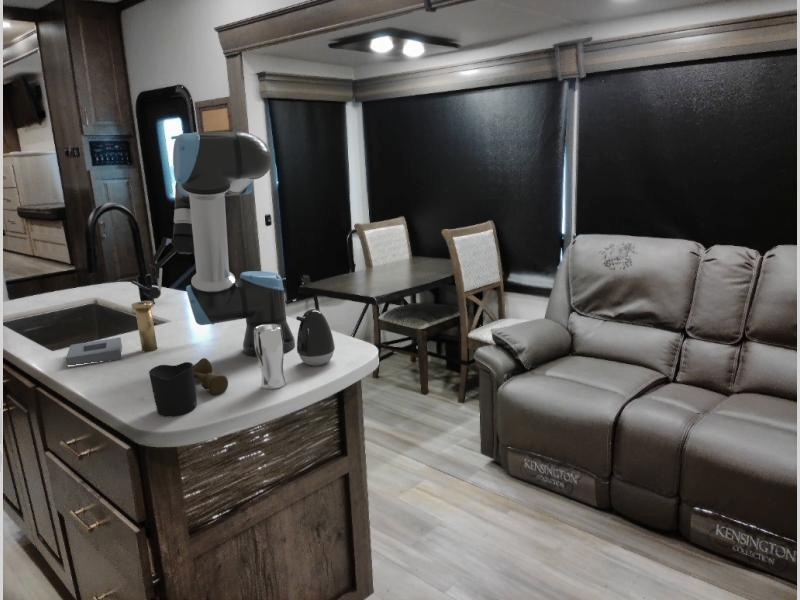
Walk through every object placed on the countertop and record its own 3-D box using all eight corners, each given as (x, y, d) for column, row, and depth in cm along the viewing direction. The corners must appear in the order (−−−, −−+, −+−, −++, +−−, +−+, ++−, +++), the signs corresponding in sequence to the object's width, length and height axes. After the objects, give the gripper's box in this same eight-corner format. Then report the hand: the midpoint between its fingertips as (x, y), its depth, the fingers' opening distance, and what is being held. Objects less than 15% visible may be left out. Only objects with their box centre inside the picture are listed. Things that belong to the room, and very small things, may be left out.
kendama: (203, 403, 140) (162, 383, 153) (238, 391, 147) (196, 372, 160) (200, 379, 139) (160, 361, 152) (236, 368, 146) (194, 351, 159)
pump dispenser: (290, 364, 161) (284, 311, 158) (319, 353, 169) (314, 302, 165) (314, 372, 154) (308, 316, 151) (343, 360, 162) (339, 307, 158)
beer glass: (279, 391, 143) (272, 332, 139) (254, 389, 145) (247, 331, 142) (292, 380, 149) (287, 324, 146) (269, 378, 152) (262, 323, 148)
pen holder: (175, 421, 130) (168, 378, 127) (146, 414, 134) (139, 372, 132) (207, 404, 138) (201, 364, 135) (179, 398, 142) (173, 359, 140)
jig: (121, 359, 174) (119, 349, 173) (67, 368, 169) (65, 358, 168) (122, 346, 187) (120, 337, 186) (72, 354, 181) (70, 344, 181)
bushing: (160, 350, 180) (153, 303, 176) (139, 354, 178) (131, 306, 174) (159, 345, 185) (152, 299, 182) (139, 348, 183) (131, 302, 179)
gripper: (225, 231, 196) (222, 294, 193) (143, 223, 186) (139, 289, 183) (228, 226, 189) (225, 291, 186) (143, 217, 179) (139, 286, 176)
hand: (183, 290), depth 185 cm, fingers open, 13 cm apart
